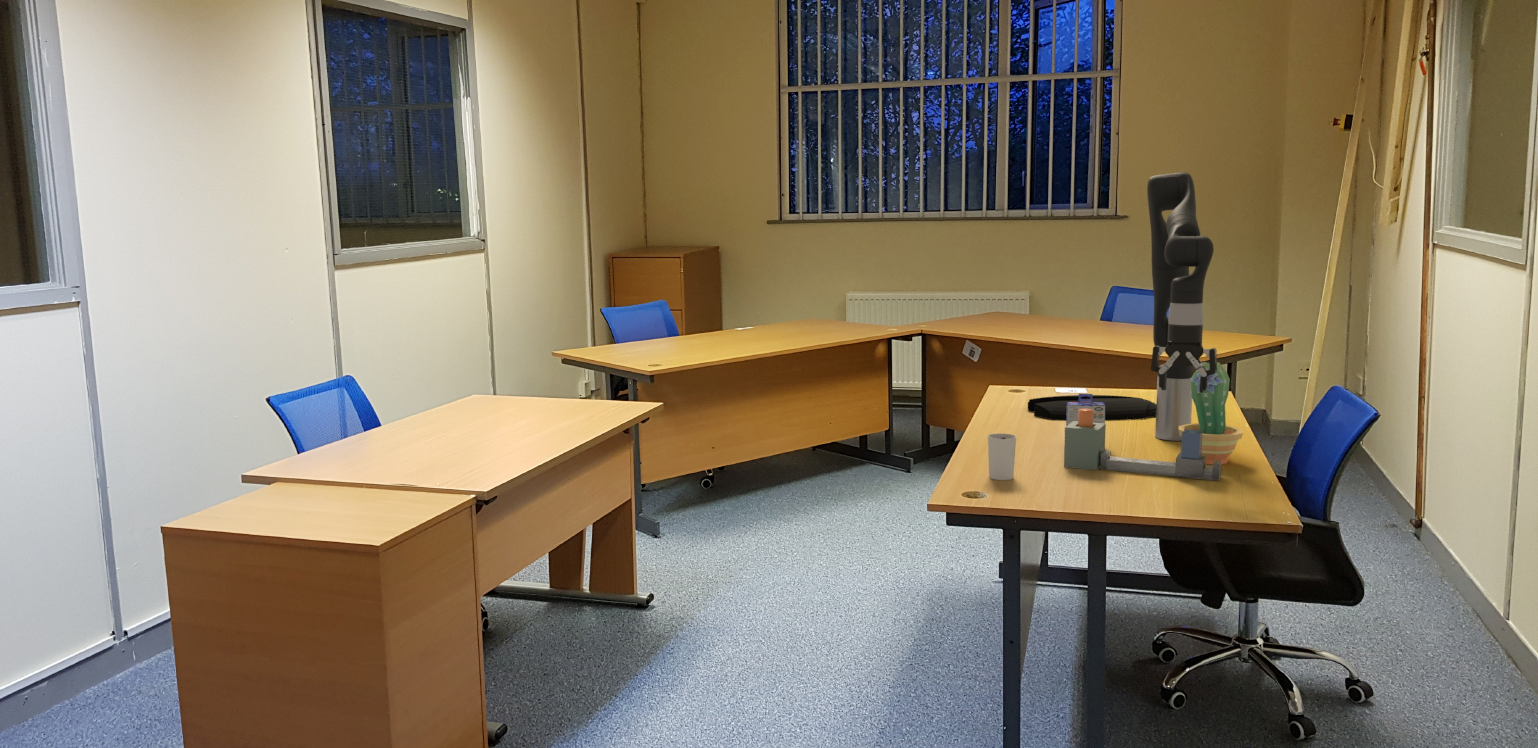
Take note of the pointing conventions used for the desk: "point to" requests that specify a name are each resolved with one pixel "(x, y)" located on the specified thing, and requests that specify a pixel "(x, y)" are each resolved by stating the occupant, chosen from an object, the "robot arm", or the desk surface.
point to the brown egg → (1085, 418)
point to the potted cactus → (1213, 416)
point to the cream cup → (1001, 456)
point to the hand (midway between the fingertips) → (1182, 391)
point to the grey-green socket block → (1084, 445)
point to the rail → (1154, 467)
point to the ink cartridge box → (1085, 404)
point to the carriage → (1191, 454)
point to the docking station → (1113, 404)
